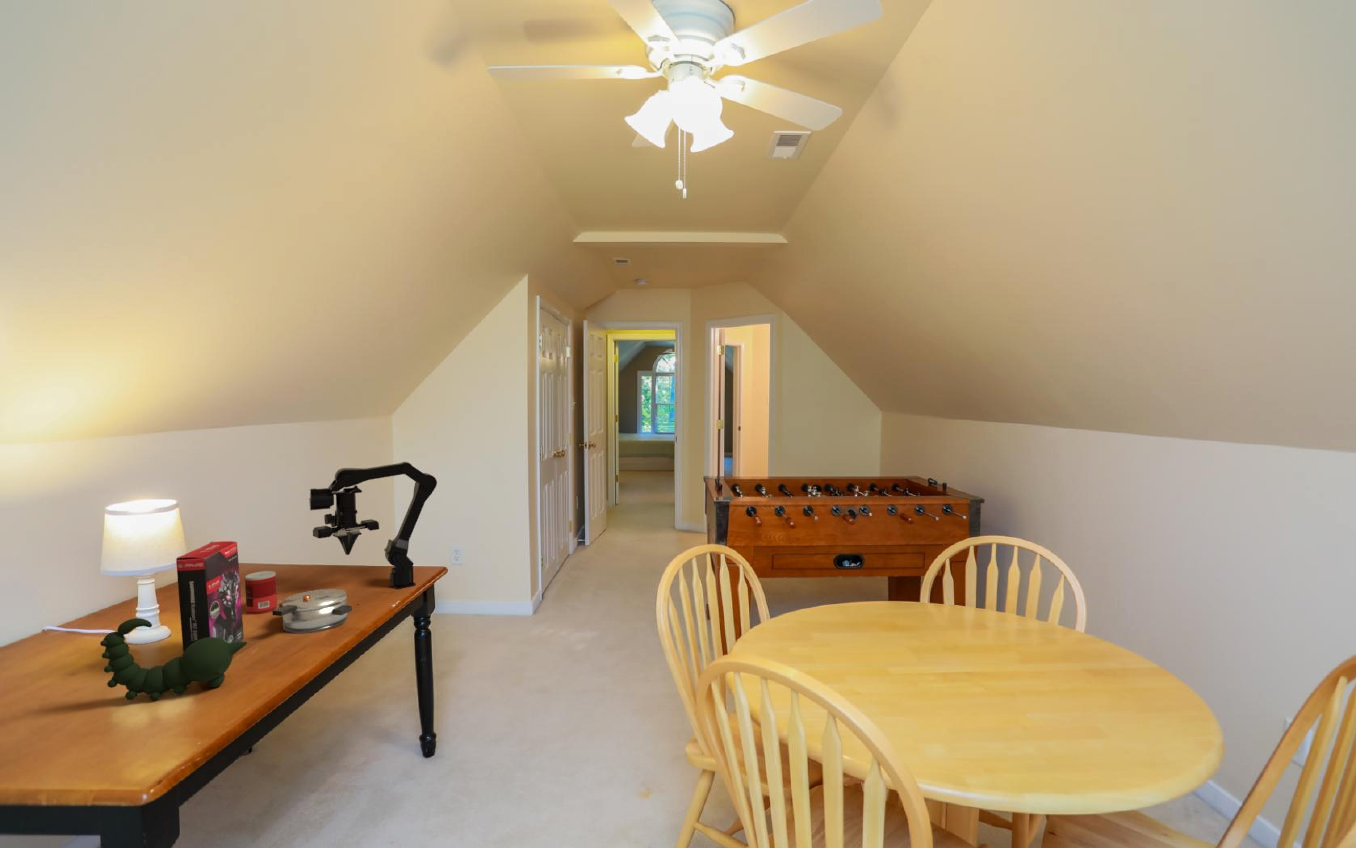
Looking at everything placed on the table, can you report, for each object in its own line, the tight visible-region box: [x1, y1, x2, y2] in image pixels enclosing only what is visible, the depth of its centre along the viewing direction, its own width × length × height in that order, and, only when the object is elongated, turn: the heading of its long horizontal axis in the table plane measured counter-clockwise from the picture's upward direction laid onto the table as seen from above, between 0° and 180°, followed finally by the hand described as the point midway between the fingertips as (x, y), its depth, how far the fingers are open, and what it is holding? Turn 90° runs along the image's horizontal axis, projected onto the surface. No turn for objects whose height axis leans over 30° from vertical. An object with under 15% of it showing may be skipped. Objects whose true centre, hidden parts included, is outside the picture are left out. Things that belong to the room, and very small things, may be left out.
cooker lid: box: [271, 588, 348, 617], centre depth 183 cm, size 21×16×3 cm
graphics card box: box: [175, 540, 245, 654], centre depth 163 cm, size 17×7×27 cm, turn 12°
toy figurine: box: [99, 617, 248, 702], centre depth 143 cm, size 9×19×25 cm
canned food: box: [244, 570, 278, 615], centre depth 197 cm, size 8×8×11 cm
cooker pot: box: [278, 598, 353, 634], centre depth 186 cm, size 16×22×6 cm
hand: (347, 554), depth 212 cm, fingers closed
